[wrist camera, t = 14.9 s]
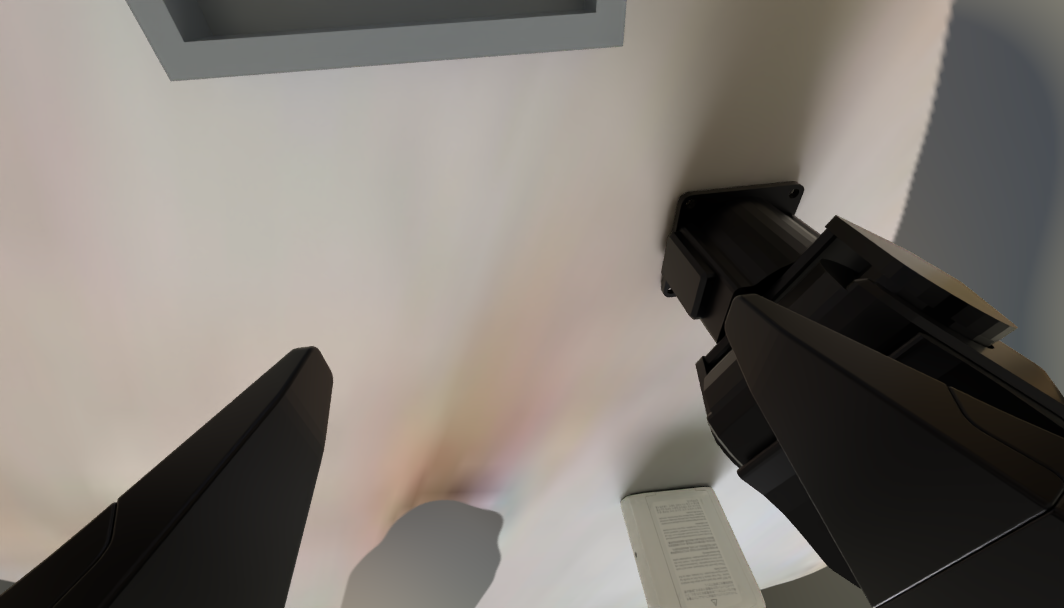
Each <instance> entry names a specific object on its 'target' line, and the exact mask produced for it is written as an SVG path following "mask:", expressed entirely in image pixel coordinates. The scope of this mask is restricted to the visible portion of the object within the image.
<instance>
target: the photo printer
mask: <svg viewBox="0 0 1064 608" xmlns="http://www.w3.org/2000/svg"><path fill="white" fill-rule="evenodd" d="M621 509H622V513H623V517H624V520H625V524H626V528H627V531H628V535H629V539H630V542H631V546H632V550H633V553H634V557H635V561H636V564H637V568H638V572H639V575H640V579H641V583H642V586H643V590H644V594H645V597H646V601H647V604H648V608H766V606H765V602H764V599H763V596H762V593H761V591H760V589H759V586H758V584H757V582H756V580H755V578H754V576H753V574H752V571H751V569H750V567H749V565H748V563H747V561H746V559H745V556H744V554H743V552H742V550H741V548H740V546H739V544H738V541H737V539H736V537H735V535H734V533H733V530H732V528H731V526H730V524H729V522H728V520H727V517H726V515H725V513H724V511H723V509H722V507H721V504H720V502H719V500H718V498H717V496H716V494H715V492H714V490H713V489H712V488H711V487H699V488H689V489H679V490H670V491H661V492H650V493H642V494H636V495H630V496H626V497H625V498H624V499H623V500H622V502H621Z"/></svg>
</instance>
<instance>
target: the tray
mask: <svg viewBox="0 0 1064 608" xmlns="http://www.w3.org/2000/svg"><path fill="white" fill-rule="evenodd" d="M126 2H127V4H128V6H129V7H130V9H131V11H132V13H133V15H134V16H135V18H136V20H137V22H138V24H139V25H140V27H141V29H142V31H143V32H144V34H145V36H146V38H147V40H148V41H149V43H150V45H151V47H152V49H153V50H154V52H155V54H156V56H157V58H158V59H159V61H160V63H161V65H162V67H163V68H164V70H165V72H166V74H167V75H168V77H169V79H170V81H181V80H194V79H207V78H220V77H233V76H246V75H258V74H271V73H284V72H297V71H310V70H323V69H336V68H349V67H362V66H375V65H388V64H401V63H414V62H426V61H439V60H452V59H465V58H478V57H491V56H504V55H517V54H530V53H543V52H556V51H569V50H582V49H594V48H607V47H620V46H623V40H624V27H625V15H626V2H627V0H126Z"/></svg>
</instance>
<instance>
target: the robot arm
mask: <svg viewBox="0 0 1064 608" xmlns="http://www.w3.org/2000/svg"><path fill="white" fill-rule="evenodd" d="M793 190H794V191H793ZM791 191H793V193H791V194H790V192H791ZM803 192H804V187H803V186H802V185H801V184H799V183H797V182H795V181H791V182H781V183H771V184H761V185H751V186H742V187H732V188H722V189H712V190H702V191H692V192H687V193H685V194H683V195H682V196H681V197H680V198H679V200H678V204H677V209H676V214H675V219H674V224H673V229H672V232H671V233H670V235H669V236H668V240H667V245H666V250H665V256H664V261H663V266H662V271H661V273H662V275H663V280H662V285H661V290H662V292H663V294H664V295H665V296H666V297H676V296H677V298H678V299H679V301H680V302H681V304H682V305H683V307H684V309H685V310H686V312H687V313H688V315H689V316H690V317H691V318H692V319H694V320H695V319H700V320H701V321H702V323H703V324H704V326H705V327H706V329H707V330H708V332H709V333H710V335H711V336H712V338H713V339H714V341H715V342H716V343H717V345H716V346H715V347H714V348H713V349H712V350H711V351H710V352H709V353H708V354H707V355H706V356H702V357H701V358H700V359H699V361H698V362H697V363H696V369H697V373H698V378H699V382H700V387H701V391H702V395H703V400H704V404H705V409H706V413H707V421H708V425H709V426H710V429H711V432H712V434H713V436H714V438H715V441H716V443H717V444H718V445H719V446H720V448H721V449H722V450H723V452H724V453H725V454H726V455H727V456H728V458H729V459H730V460H731V461H732V462H733V463H734V464H735V465H736V466H737V467H738V468H739V469H738V470H737V474H738V476H739V477H740V478H741V479H742V480H744V481H745V482H746V483H748V484H749V485H750V486H752V487H753V488H754V489H756V490H757V491H759V492H760V493H761V494H763V495H764V496H765V497H766V498H767V499H768V500H769V501H770V502H771V503H772V504H774V505H775V506H776V507H777V508H778V509H779V510H780V511H781V512H782V513H783V514H784V515H785V516H786V517H787V518H788V519H789V521H790V522H791V523H792V524H793V525H794V526H795V527H796V528H797V530H798V531H799V532H800V533H801V534H802V536H803V537H804V538H805V539H806V540H807V542H808V543H809V544H810V545H811V546H812V548H813V549H814V550H815V551H816V553H817V554H818V555H819V556H820V557H821V559H822V560H823V561H824V562H825V563H826V565H827V566H829V568H831V569H832V570H833V571H835V572H836V573H838V574H839V575H841V576H842V577H844V578H845V579H847V580H848V581H850V582H851V583H853V584H854V585H856V586H857V587H859V588H861V589H862V591H863V592H864V594H865V596H866V598H867V600H868V601H869V603H870V605H871V607H872V608H1064V397H1063V395H1062V394H1061V392H1060V391H1059V390H1058V388H1057V387H1056V385H1055V384H1054V383H1053V381H1052V380H1051V379H1050V377H1049V376H1048V375H1047V373H1046V372H1045V371H1044V370H1043V369H1042V368H1041V367H1040V366H1038V365H1037V364H1035V363H1034V362H1032V361H1031V360H1029V359H1027V358H1026V357H1024V356H1023V355H1021V354H1020V353H1018V352H1016V351H1015V350H1013V349H1012V348H1010V347H1009V346H1007V345H1006V344H1004V343H1002V342H1001V341H999V340H1000V339H1002V338H1003V337H1005V336H1006V335H1008V334H1009V333H1011V332H1012V331H1014V330H1015V329H1017V328H1018V327H1017V326H1016V325H1015V324H1013V323H1012V322H1011V321H1010V320H1008V319H1007V318H1006V317H1005V316H1003V315H1002V314H1001V313H999V312H998V311H997V310H996V309H995V308H993V307H992V306H991V305H990V304H988V303H987V302H986V301H985V300H983V299H982V298H981V297H979V296H978V295H977V294H976V293H975V292H973V291H972V290H971V289H969V288H968V287H967V286H966V285H964V284H963V283H962V282H960V281H959V280H957V279H956V278H954V277H952V276H950V275H949V274H947V273H945V272H944V271H942V270H940V269H939V268H937V267H935V266H933V265H932V264H930V263H928V262H927V261H925V260H923V259H921V258H920V257H918V256H917V255H915V254H913V253H911V252H910V251H908V250H906V249H904V248H902V247H900V246H898V245H896V244H894V243H892V242H890V241H888V240H886V239H884V238H882V237H880V236H878V235H876V234H874V233H872V232H870V231H868V230H866V229H863V228H861V227H859V226H857V225H855V224H853V223H851V222H849V221H847V220H845V219H843V218H841V217H839V216H837V215H835V216H834V217H833V219H832V220H831V221H830V222H829V223H828V224H827V225H826V226H825V227H826V228H827V229H826V230H825V231H824V232H823V233H822V234H819V233H818V232H816V231H815V230H814V229H812V228H811V227H810V226H808V225H807V224H805V223H804V222H803V221H801V220H800V219H798V218H797V217H796V216H794V215H795V212H796V210H797V207H798V205H799V202H800V200H801V198H802V195H803ZM789 194H790V195H789ZM689 200H692V202H691V203H690V204H689V205H687V206H686V203H687V202H688V201H689ZM669 288H671V289H670V290H668V289H669ZM332 387H333V375H332V372H331V370H330V368H329V366H328V365H327V363H326V361H325V359H324V358H323V356H322V354H321V352H320V351H319V349H318V348H316V347H314V346H309V347H301V348H296V349H293V350H292V351H290V352H289V353H288V354H287V355H286V356H284V357H283V358H282V359H281V360H280V361H279V362H277V363H276V364H275V365H274V366H273V367H272V368H270V369H269V370H268V371H267V372H266V373H264V374H263V375H262V376H261V377H260V378H259V379H257V380H256V381H255V382H254V383H253V384H252V385H250V386H249V387H248V388H247V389H246V390H245V391H243V392H242V393H241V394H240V395H239V396H238V397H236V398H235V399H234V400H233V401H232V402H231V403H229V404H228V405H227V406H226V407H225V408H223V409H222V410H221V411H220V412H219V413H218V414H216V415H215V416H214V417H213V418H212V419H211V420H209V421H208V422H207V423H206V424H205V425H204V426H202V427H201V428H200V429H199V430H198V431H197V432H195V433H194V434H193V435H192V436H191V437H190V438H188V439H187V440H186V441H185V442H184V443H182V444H181V445H180V446H179V447H178V448H177V449H175V450H174V451H173V452H172V453H171V454H170V455H168V456H167V457H166V458H165V459H164V460H163V461H161V462H160V463H159V464H158V465H157V466H155V467H154V468H153V469H152V470H151V471H150V472H148V473H147V474H146V475H145V476H144V477H143V478H141V479H140V480H139V481H138V482H137V483H136V484H134V485H133V486H132V487H131V488H130V489H129V490H127V491H126V492H125V493H124V494H123V495H121V496H120V497H119V498H118V501H117V502H115V503H112V504H111V505H110V506H108V507H107V508H106V509H105V510H104V511H103V512H101V513H100V514H99V515H98V516H97V517H96V518H94V519H93V520H92V521H91V522H90V523H89V524H87V525H86V526H85V527H84V528H83V529H81V530H80V531H79V532H78V533H77V534H75V535H74V536H73V537H72V538H71V539H69V540H68V541H67V542H66V543H65V544H63V545H62V546H61V547H60V548H59V549H57V550H56V551H55V552H54V553H52V554H51V555H50V556H49V557H48V558H46V559H45V560H44V561H43V562H41V563H40V564H39V565H38V566H36V567H35V568H34V569H33V570H31V571H30V572H29V573H28V574H26V575H25V576H24V577H23V578H21V579H20V580H19V581H17V582H16V583H15V584H14V585H12V586H11V587H10V588H9V589H7V590H6V591H5V592H4V593H2V594H1V595H0V608H284V607H285V603H286V599H287V595H288V591H289V587H290V583H291V579H292V575H293V572H294V568H295V564H296V560H297V556H298V552H299V548H300V544H301V540H302V536H303V532H304V528H305V524H306V520H307V516H308V512H309V508H310V504H311V500H312V496H313V492H314V488H315V484H316V480H317V476H318V472H319V468H320V464H321V460H322V456H323V452H324V446H325V440H326V433H327V425H328V418H329V410H330V402H331V394H332Z"/></svg>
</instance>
